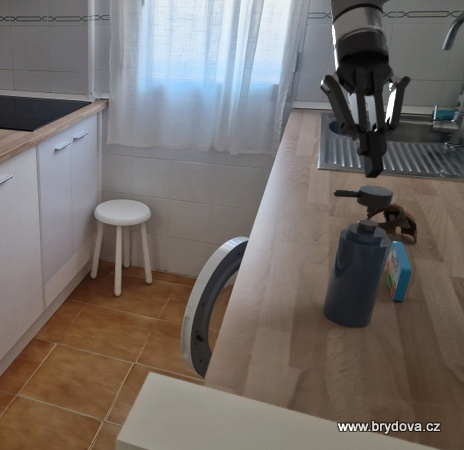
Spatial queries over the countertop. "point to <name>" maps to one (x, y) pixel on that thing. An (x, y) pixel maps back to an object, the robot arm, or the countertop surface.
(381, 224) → the brown arched figure
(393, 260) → the flat blue box
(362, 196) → the pump head
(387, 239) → the dispenser
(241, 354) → the countertop surface
